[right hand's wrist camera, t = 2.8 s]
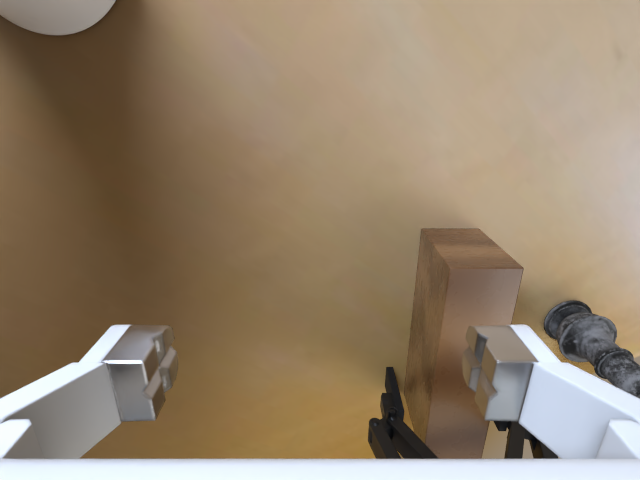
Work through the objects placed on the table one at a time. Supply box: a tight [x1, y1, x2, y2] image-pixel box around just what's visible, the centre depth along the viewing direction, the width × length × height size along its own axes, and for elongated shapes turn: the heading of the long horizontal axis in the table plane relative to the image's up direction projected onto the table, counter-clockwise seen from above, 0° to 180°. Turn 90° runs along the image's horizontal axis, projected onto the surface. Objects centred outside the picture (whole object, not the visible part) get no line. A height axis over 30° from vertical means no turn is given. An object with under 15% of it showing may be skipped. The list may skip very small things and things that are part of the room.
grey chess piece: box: [544, 301, 640, 399], centre depth 38 cm, size 6×6×12 cm
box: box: [404, 229, 523, 459], centre depth 39 cm, size 22×6×9 cm, turn 0°
